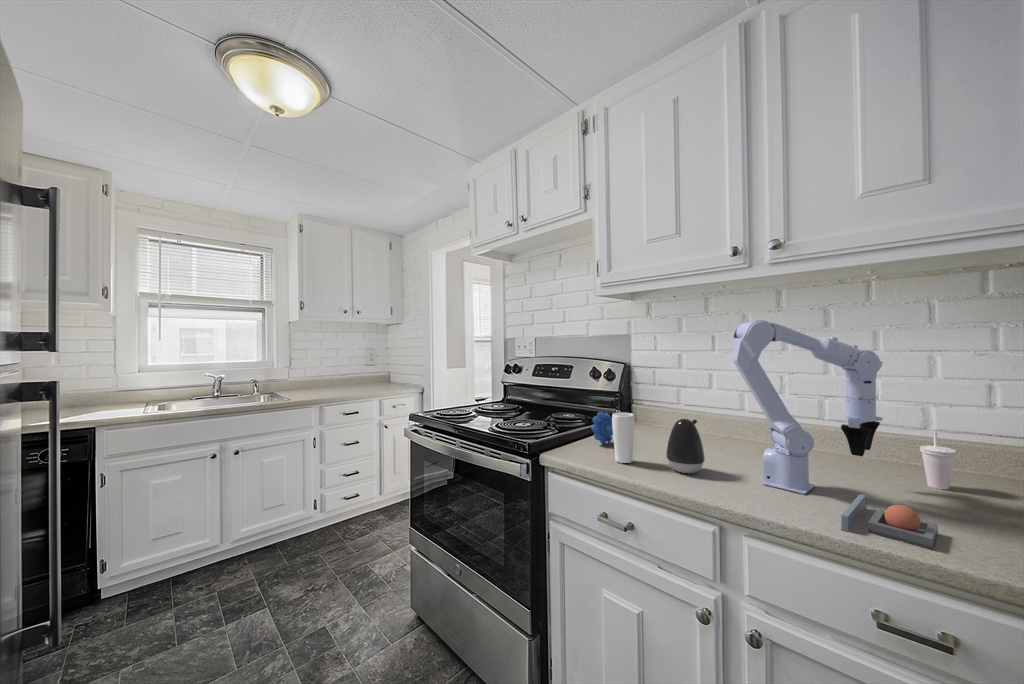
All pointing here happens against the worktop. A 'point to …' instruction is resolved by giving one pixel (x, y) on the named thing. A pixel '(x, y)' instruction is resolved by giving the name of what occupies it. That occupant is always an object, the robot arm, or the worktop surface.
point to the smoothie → (938, 464)
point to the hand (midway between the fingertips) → (860, 452)
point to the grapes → (602, 427)
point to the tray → (904, 531)
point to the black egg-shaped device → (685, 447)
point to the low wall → (853, 512)
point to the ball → (902, 518)
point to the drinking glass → (623, 436)
